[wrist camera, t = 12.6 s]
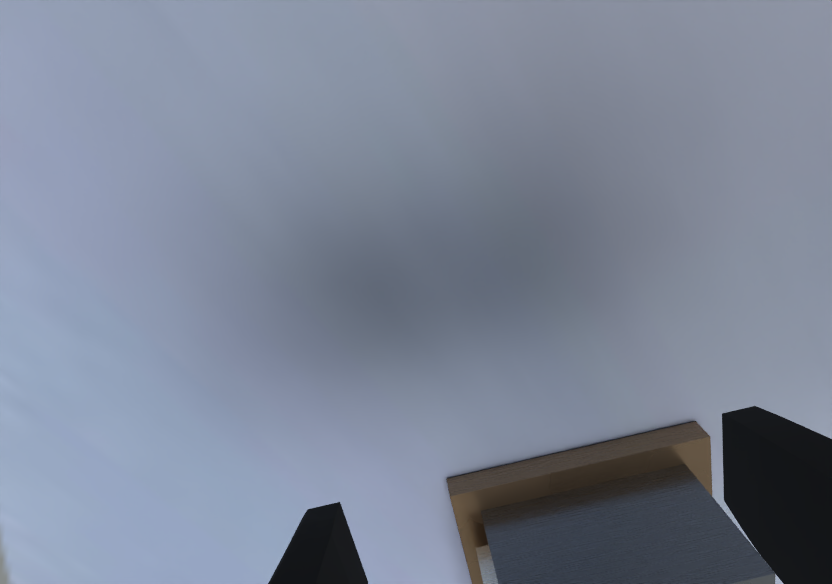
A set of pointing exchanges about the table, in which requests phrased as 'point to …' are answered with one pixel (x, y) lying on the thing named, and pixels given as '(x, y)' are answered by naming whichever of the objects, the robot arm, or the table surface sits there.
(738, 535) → the mounted unit
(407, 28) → the table surface
